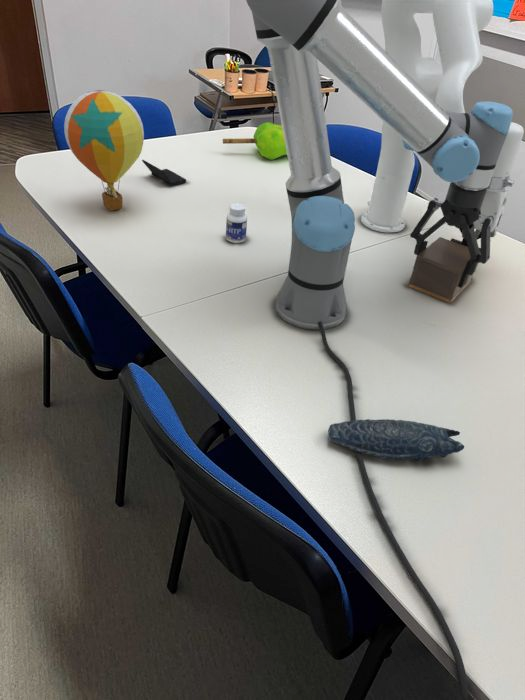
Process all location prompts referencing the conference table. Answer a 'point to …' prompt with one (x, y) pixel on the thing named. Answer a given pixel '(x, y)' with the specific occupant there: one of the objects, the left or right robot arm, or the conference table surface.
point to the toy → (105, 138)
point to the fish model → (395, 438)
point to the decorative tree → (266, 140)
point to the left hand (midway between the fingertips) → (439, 276)
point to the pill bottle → (236, 223)
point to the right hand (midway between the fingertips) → (465, 252)
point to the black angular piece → (165, 175)
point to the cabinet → (441, 269)
